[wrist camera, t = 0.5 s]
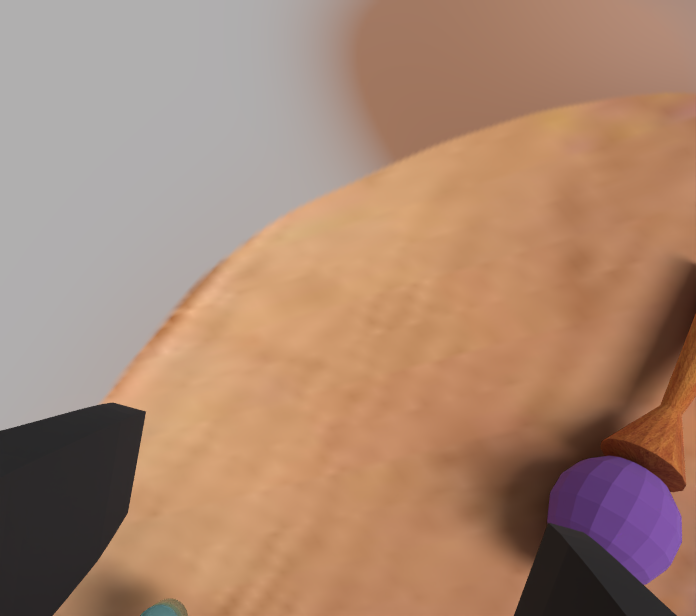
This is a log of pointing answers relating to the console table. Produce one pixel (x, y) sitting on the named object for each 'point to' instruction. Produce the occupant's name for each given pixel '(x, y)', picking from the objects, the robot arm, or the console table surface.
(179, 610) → the teal ball-top lever
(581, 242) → the console table surface
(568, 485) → the purple maraca
